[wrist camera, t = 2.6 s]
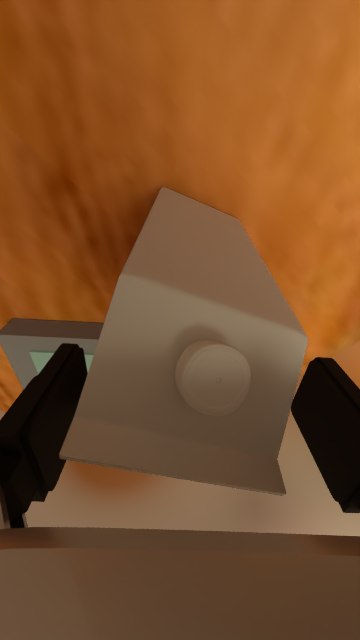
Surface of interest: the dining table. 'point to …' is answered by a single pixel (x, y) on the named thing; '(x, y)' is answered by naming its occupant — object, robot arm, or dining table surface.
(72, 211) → the dining table surface
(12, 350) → the plate
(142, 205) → the dining table surface
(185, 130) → the dining table surface
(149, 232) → the milk carton
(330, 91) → the dining table surface
